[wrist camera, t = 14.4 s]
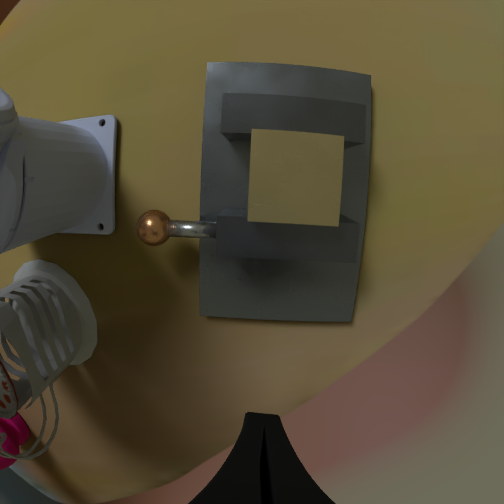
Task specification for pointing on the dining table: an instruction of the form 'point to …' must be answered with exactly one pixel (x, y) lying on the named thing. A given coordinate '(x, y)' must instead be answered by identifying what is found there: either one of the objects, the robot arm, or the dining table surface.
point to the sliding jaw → (258, 236)
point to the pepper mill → (12, 438)
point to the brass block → (295, 177)
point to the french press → (41, 338)
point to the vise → (237, 184)
